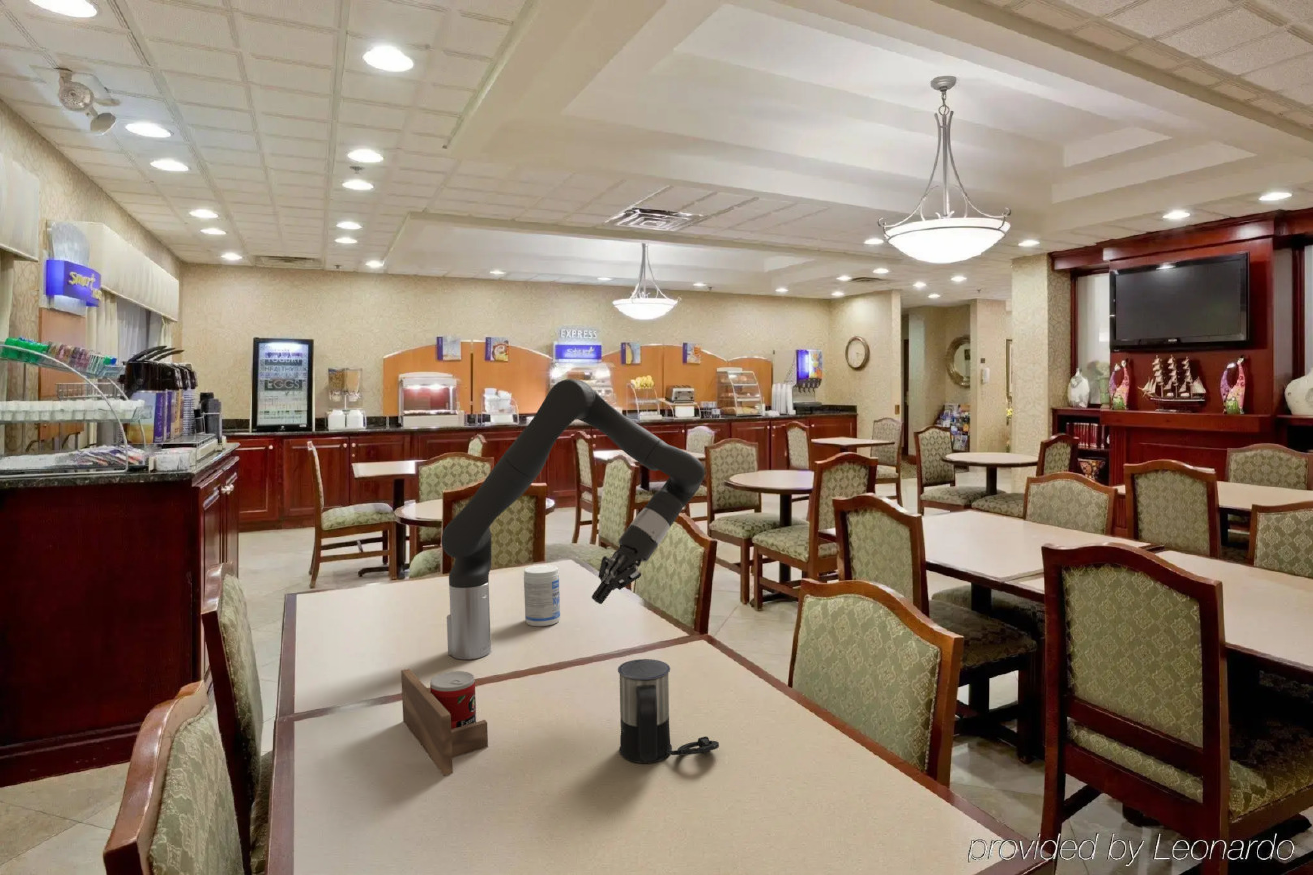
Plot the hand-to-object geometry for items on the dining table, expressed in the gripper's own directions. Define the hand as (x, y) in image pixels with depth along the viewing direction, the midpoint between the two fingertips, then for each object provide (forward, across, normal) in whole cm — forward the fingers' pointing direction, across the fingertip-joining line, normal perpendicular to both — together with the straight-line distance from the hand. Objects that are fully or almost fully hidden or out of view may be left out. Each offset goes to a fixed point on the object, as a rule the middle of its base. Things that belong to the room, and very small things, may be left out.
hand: (596, 601), depth 146 cm
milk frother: (+16, +28, +13) cm, 34 cm away
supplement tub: (+6, -50, +22) cm, 55 cm away
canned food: (+36, 0, -7) cm, 36 cm away
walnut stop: (+36, 0, -8) cm, 37 cm away
